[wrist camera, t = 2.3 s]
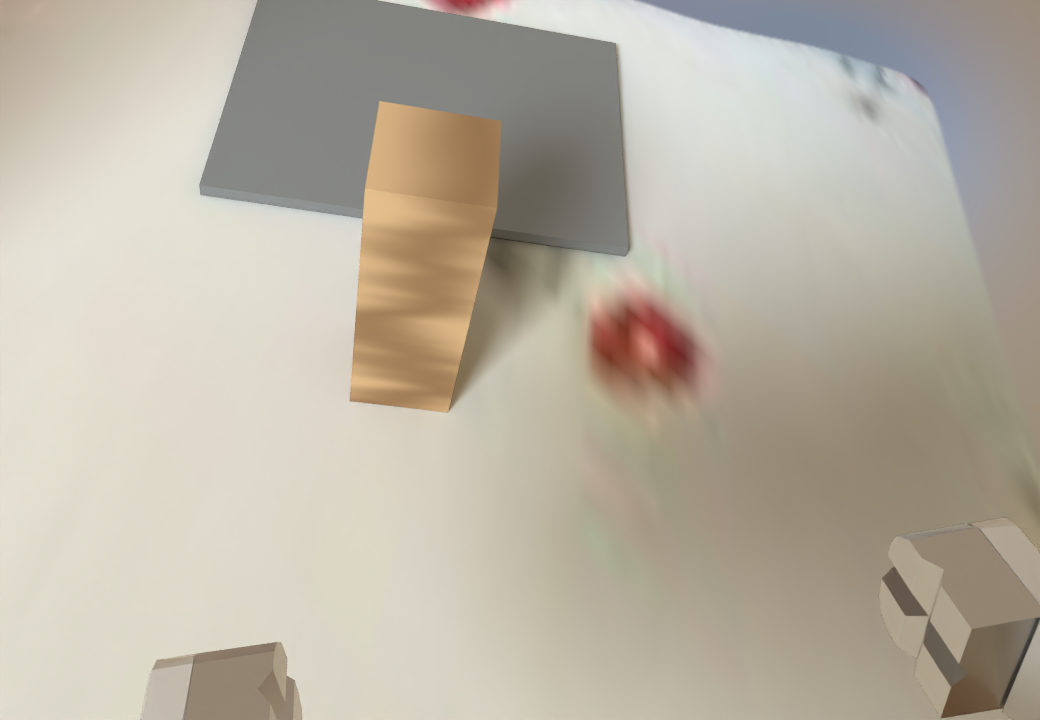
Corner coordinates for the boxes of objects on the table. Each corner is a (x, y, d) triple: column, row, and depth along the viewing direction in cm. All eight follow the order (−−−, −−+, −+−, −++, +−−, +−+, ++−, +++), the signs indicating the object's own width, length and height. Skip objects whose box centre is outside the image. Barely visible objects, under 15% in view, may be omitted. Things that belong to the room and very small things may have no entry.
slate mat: (200, 194, 41) (199, 185, 41) (264, -11, 51) (264, -20, 50) (625, 256, 44) (628, 248, 44) (612, 51, 54) (615, 43, 53)
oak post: (350, 400, 37) (364, 188, 27) (361, 322, 39) (379, 100, 29) (448, 412, 37) (497, 208, 28) (454, 334, 40) (501, 121, 30)
